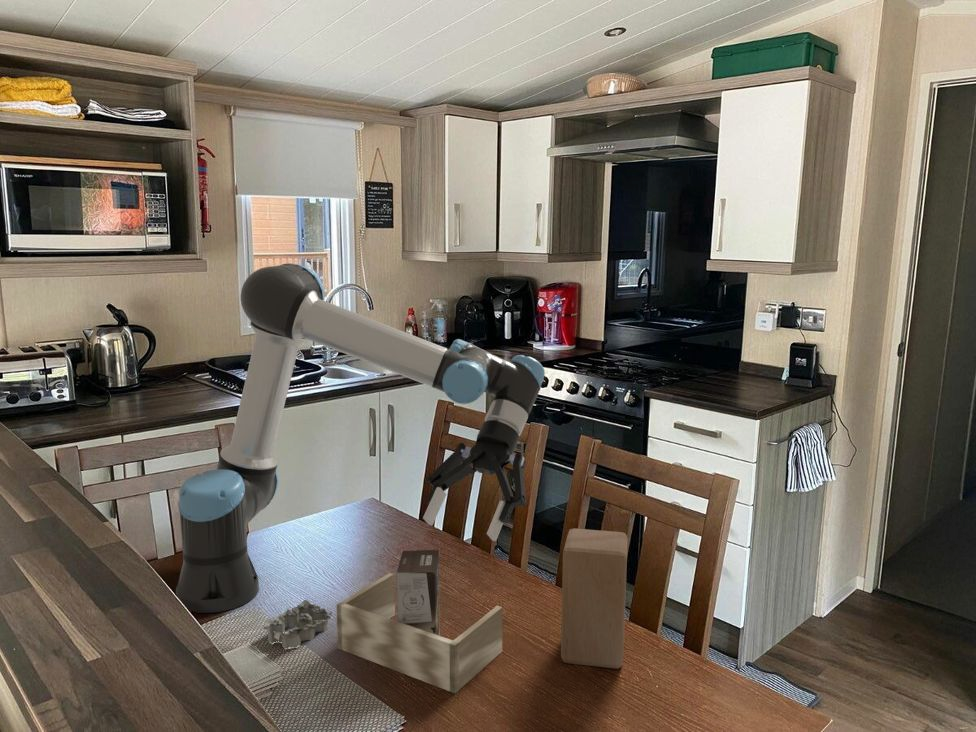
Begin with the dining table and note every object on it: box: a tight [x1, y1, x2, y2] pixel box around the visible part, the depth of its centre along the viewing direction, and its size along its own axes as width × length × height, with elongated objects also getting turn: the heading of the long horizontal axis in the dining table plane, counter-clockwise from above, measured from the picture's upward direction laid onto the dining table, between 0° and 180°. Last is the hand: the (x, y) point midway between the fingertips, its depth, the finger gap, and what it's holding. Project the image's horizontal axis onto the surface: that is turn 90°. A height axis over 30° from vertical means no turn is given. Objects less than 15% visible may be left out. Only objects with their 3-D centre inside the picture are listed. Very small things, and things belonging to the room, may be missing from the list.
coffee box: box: [396, 549, 441, 636], centre depth 127 cm, size 9×6×16 cm
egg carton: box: [262, 599, 333, 648], centre depth 133 cm, size 11×8×4 cm
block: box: [560, 528, 628, 670], centre depth 126 cm, size 10×10×20 cm
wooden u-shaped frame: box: [336, 572, 503, 694], centre depth 127 cm, size 24×14×8 cm, turn 58°
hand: (458, 529), depth 135 cm, fingers open, 13 cm apart
